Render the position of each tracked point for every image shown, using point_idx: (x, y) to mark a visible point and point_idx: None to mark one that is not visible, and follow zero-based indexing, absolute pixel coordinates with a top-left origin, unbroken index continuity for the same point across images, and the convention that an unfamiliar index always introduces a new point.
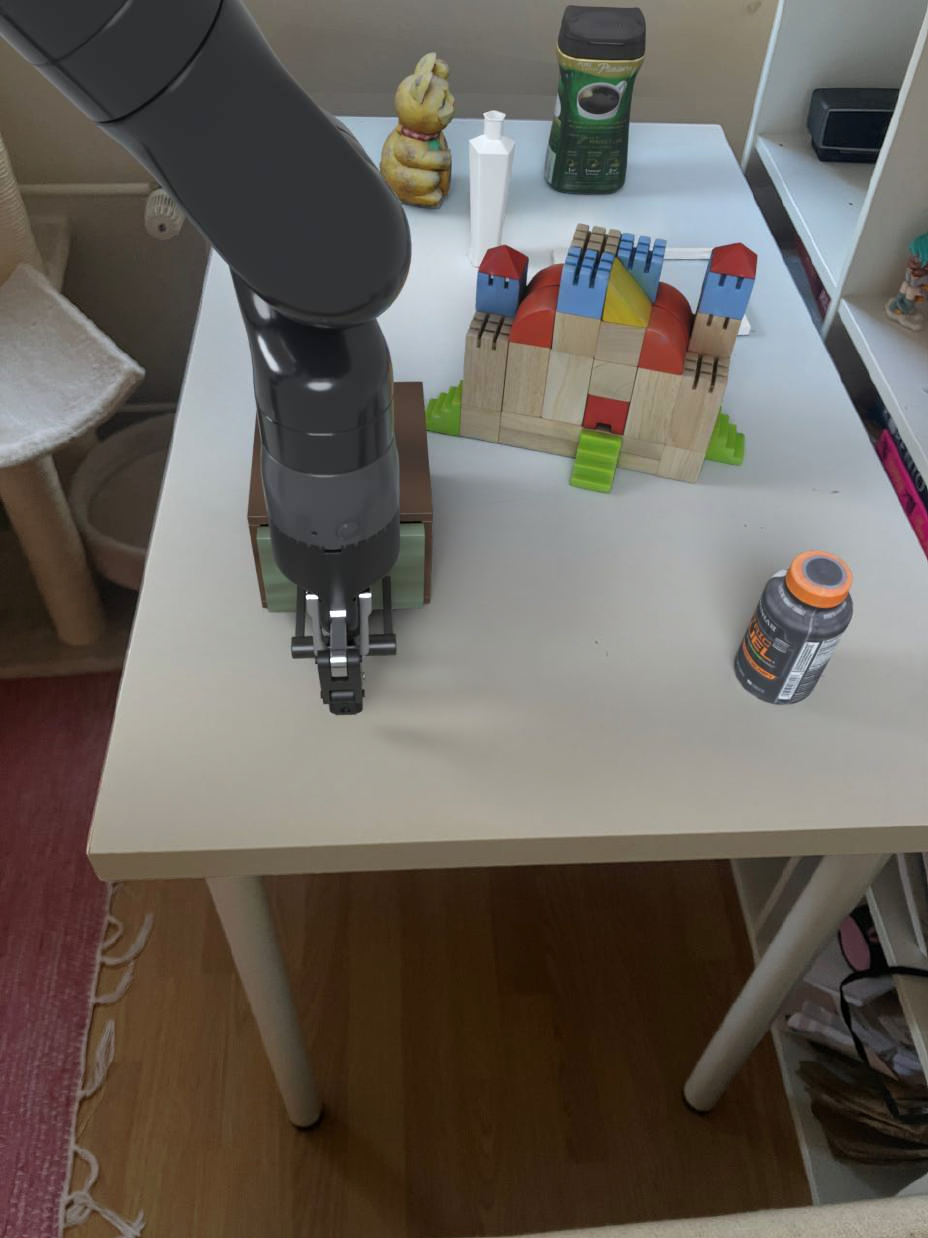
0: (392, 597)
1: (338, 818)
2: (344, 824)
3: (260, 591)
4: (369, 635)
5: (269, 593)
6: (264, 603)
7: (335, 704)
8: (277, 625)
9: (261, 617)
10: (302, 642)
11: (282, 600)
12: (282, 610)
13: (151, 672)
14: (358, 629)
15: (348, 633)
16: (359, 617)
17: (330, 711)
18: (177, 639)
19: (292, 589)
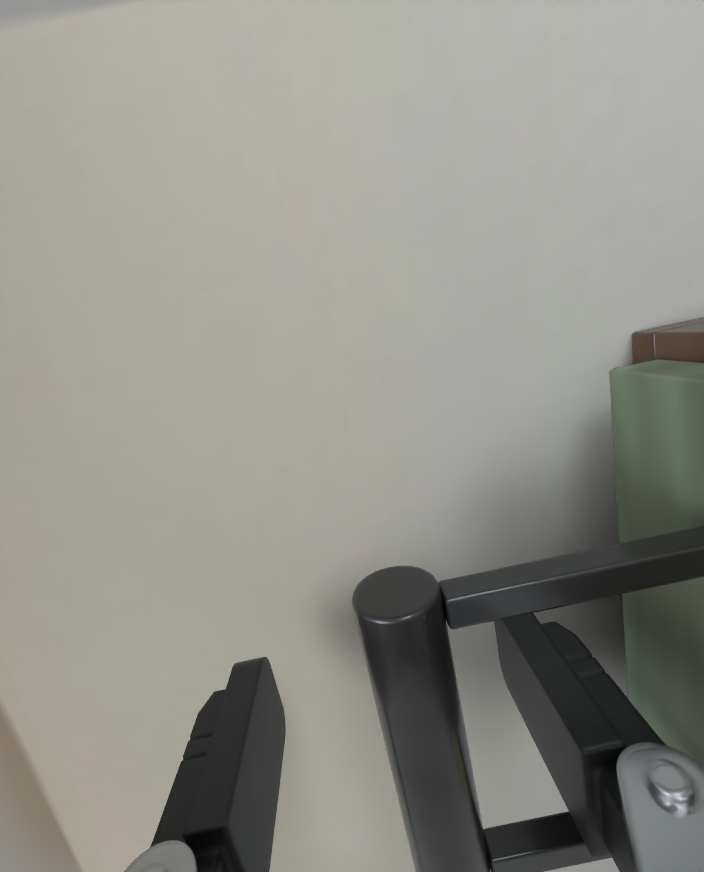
0: (661, 727)
1: (30, 663)
2: (20, 677)
3: (694, 336)
4: (468, 853)
5: (682, 393)
6: (647, 341)
7: (180, 767)
8: (568, 392)
9: (596, 338)
10: (401, 659)
11: (651, 427)
12: (616, 414)
13: (351, 31)
14: (524, 717)
15: (513, 674)
16: (556, 785)
17: (233, 667)
18: (496, 83)
19: (700, 484)
